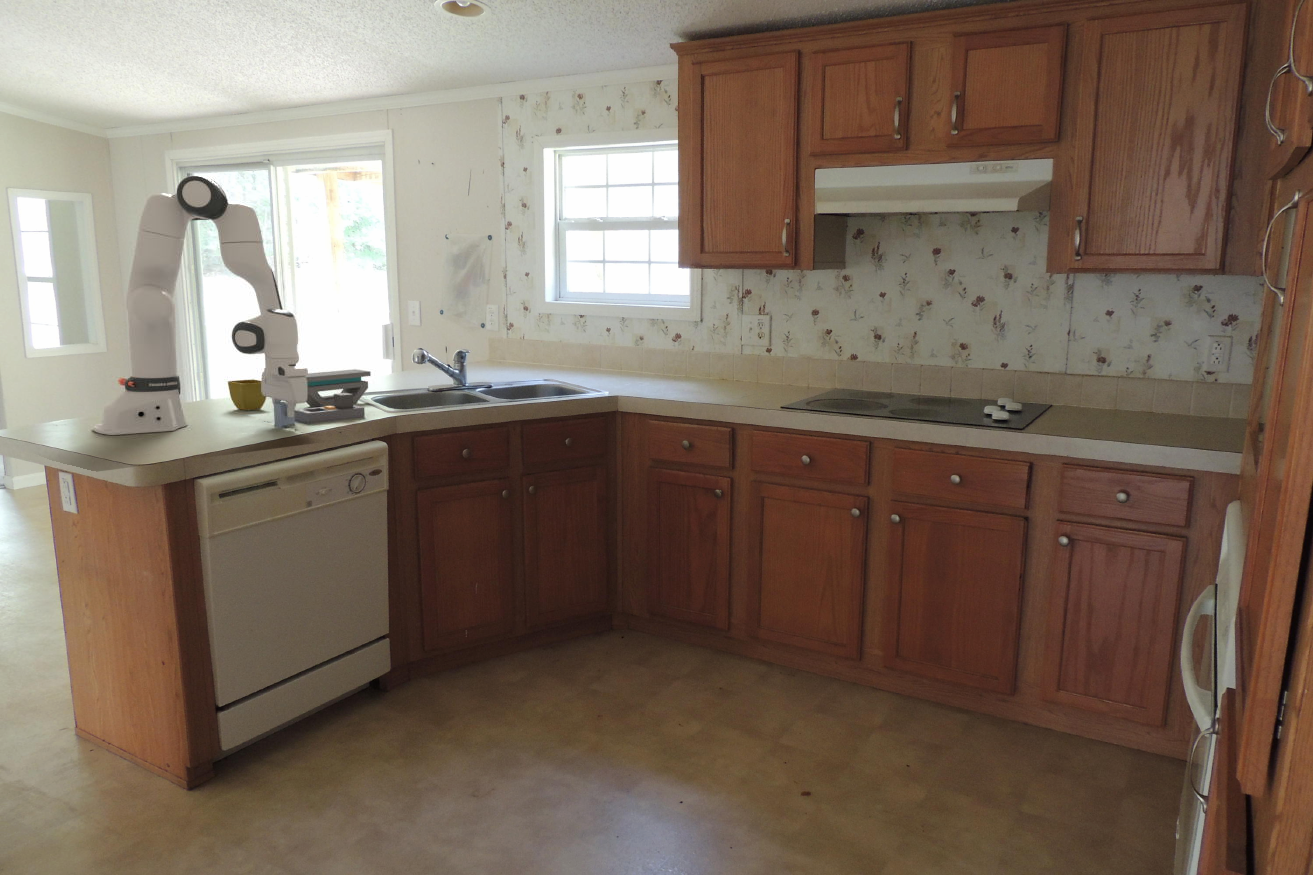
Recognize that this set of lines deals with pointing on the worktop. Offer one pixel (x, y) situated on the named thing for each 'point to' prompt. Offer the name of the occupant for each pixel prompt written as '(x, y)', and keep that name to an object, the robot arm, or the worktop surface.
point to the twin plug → (343, 400)
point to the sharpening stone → (335, 385)
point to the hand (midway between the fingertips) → (284, 415)
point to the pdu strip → (328, 414)
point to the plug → (282, 415)
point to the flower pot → (246, 394)
